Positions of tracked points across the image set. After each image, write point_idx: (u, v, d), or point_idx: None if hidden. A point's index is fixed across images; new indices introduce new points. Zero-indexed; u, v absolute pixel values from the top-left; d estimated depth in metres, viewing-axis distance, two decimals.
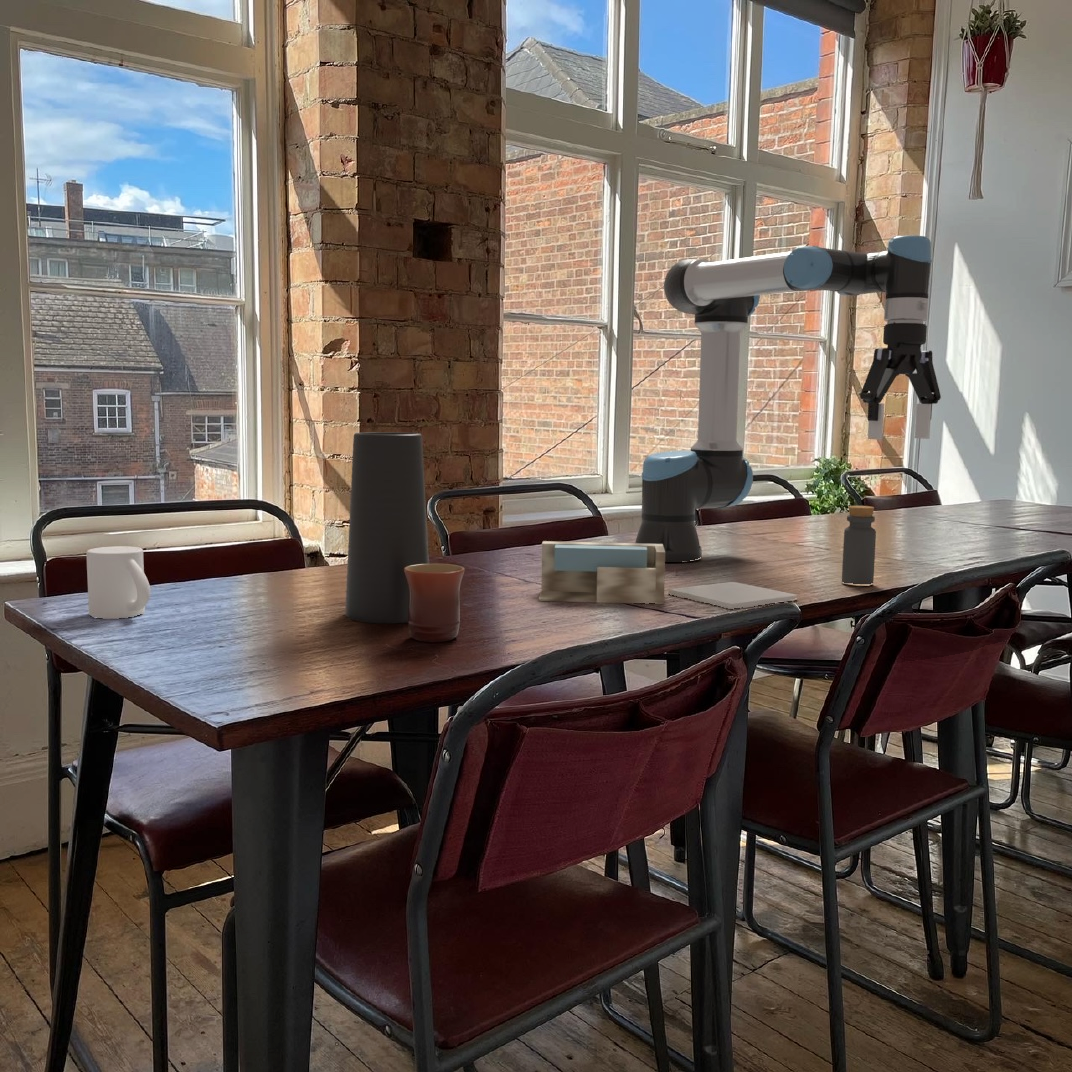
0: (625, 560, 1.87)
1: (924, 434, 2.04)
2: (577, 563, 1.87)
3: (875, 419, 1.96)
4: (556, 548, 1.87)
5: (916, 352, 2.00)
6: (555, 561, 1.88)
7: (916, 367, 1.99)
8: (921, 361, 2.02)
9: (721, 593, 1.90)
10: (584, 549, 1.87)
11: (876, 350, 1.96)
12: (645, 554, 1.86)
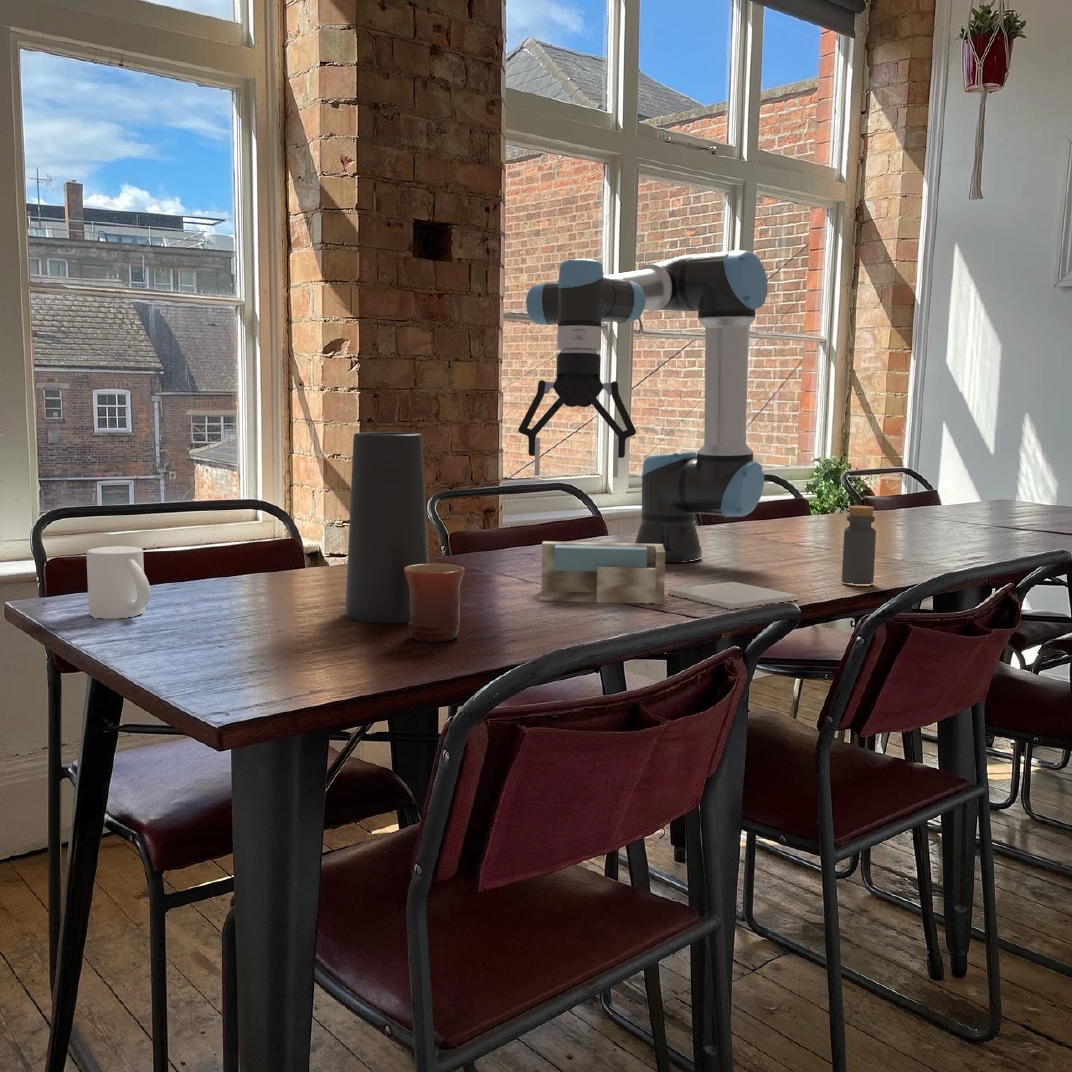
0: (625, 560, 1.87)
1: (613, 472, 1.87)
2: (577, 563, 1.87)
3: (531, 454, 1.87)
4: (556, 548, 1.87)
5: (591, 383, 1.85)
6: (555, 561, 1.88)
7: (588, 400, 1.85)
8: (607, 393, 1.86)
9: (721, 593, 1.90)
10: (584, 549, 1.87)
11: None
12: (645, 554, 1.86)
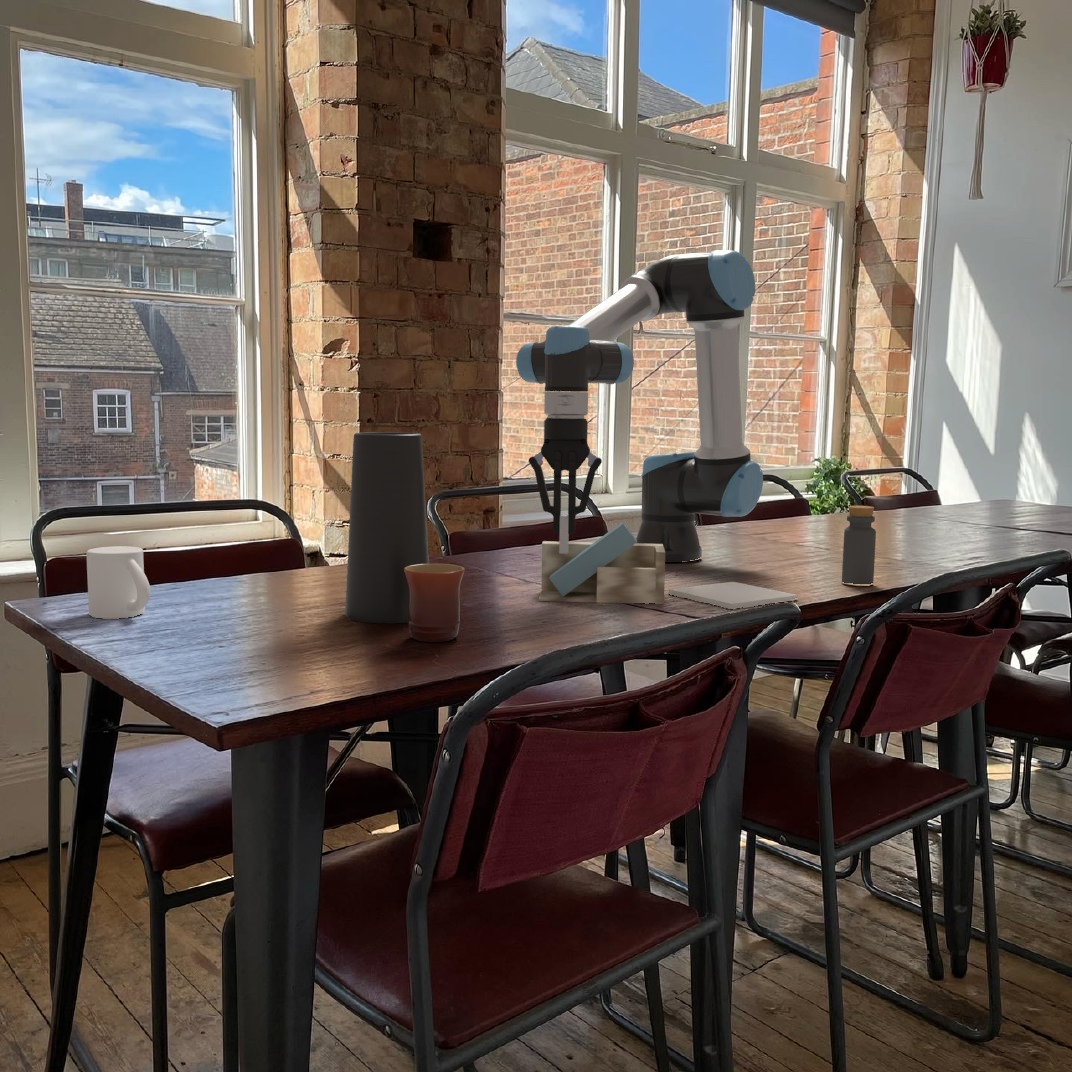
0: (613, 545, 1.87)
1: None
2: (576, 577, 1.88)
3: (555, 532, 1.88)
4: (551, 578, 1.88)
5: (581, 445, 1.86)
6: (558, 588, 1.88)
7: (568, 464, 1.86)
8: None
9: (721, 593, 1.90)
10: (573, 561, 1.87)
11: None
12: (624, 528, 1.86)
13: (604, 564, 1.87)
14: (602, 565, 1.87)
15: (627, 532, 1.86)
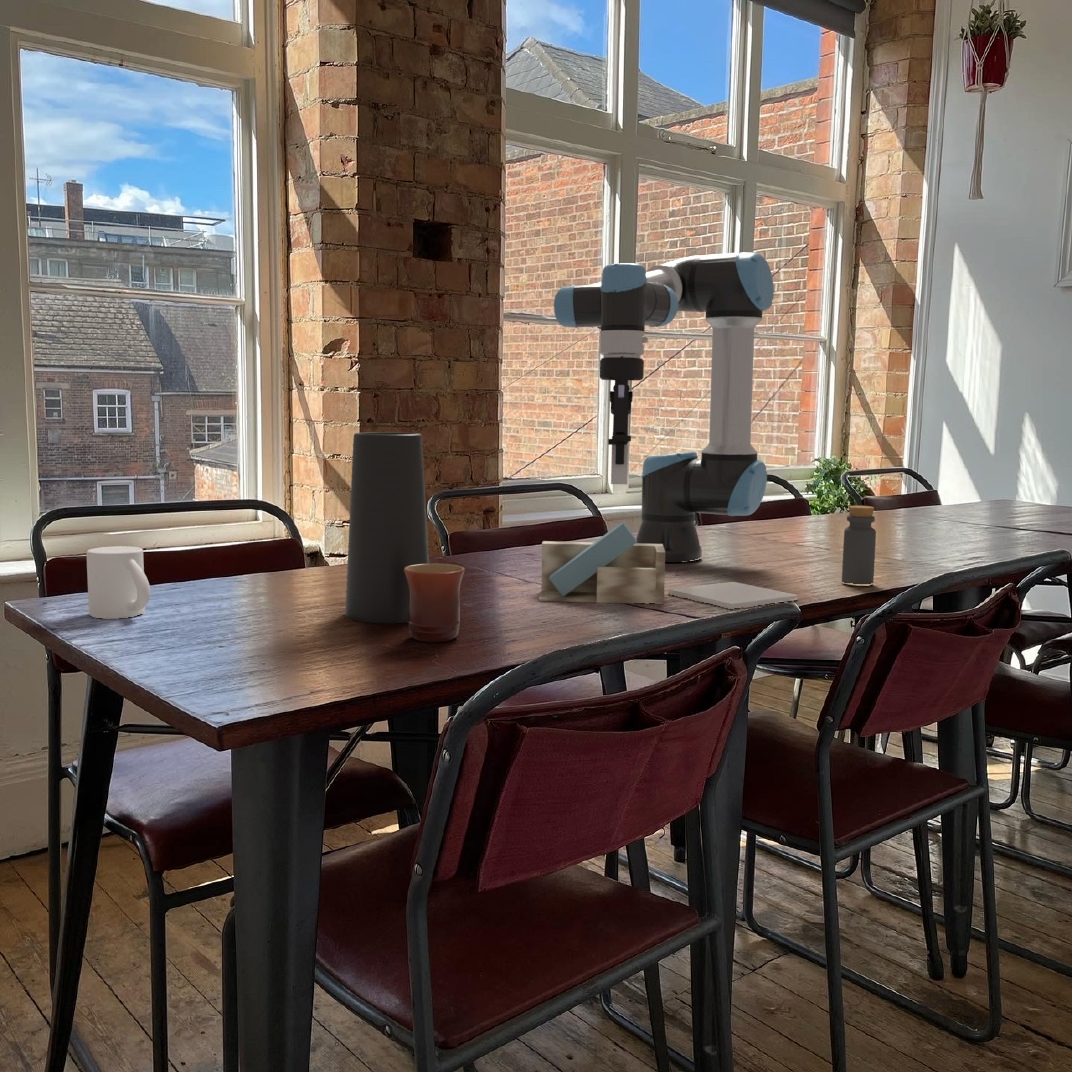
0: (613, 545, 1.87)
1: None
2: (576, 577, 1.88)
3: (623, 463, 1.79)
4: (551, 578, 1.88)
5: None
6: (558, 588, 1.88)
7: None
8: None
9: (721, 593, 1.90)
10: (573, 561, 1.87)
11: (616, 387, 1.78)
12: (624, 528, 1.86)
13: (604, 564, 1.87)
14: (602, 565, 1.87)
15: (627, 532, 1.86)
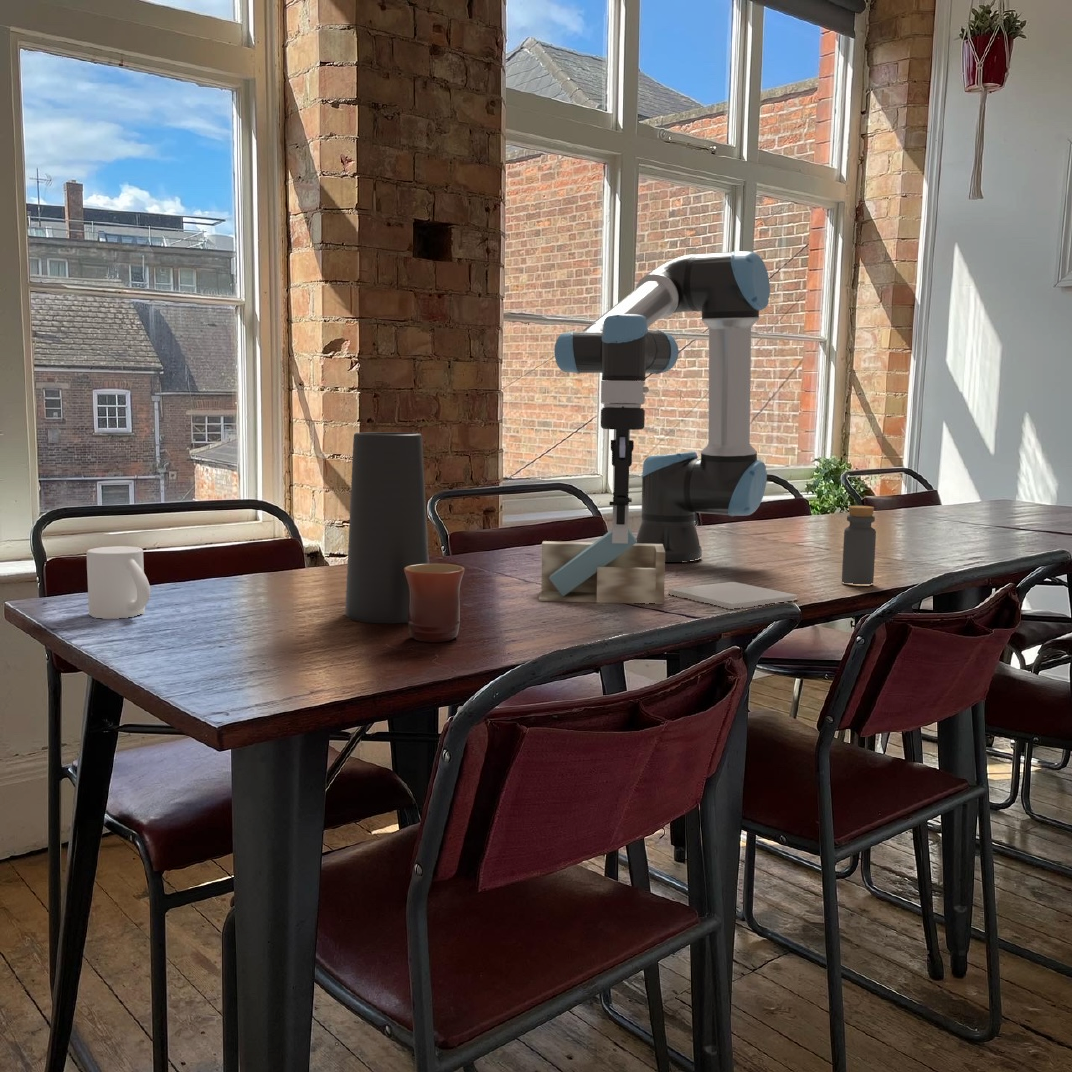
0: (613, 545, 1.87)
1: None
2: (576, 577, 1.88)
3: (624, 523, 1.84)
4: (551, 577, 1.88)
5: None
6: (558, 588, 1.88)
7: None
8: None
9: (721, 593, 1.90)
10: (573, 561, 1.87)
11: (617, 449, 1.80)
12: None
13: (604, 564, 1.87)
14: (602, 565, 1.87)
15: None
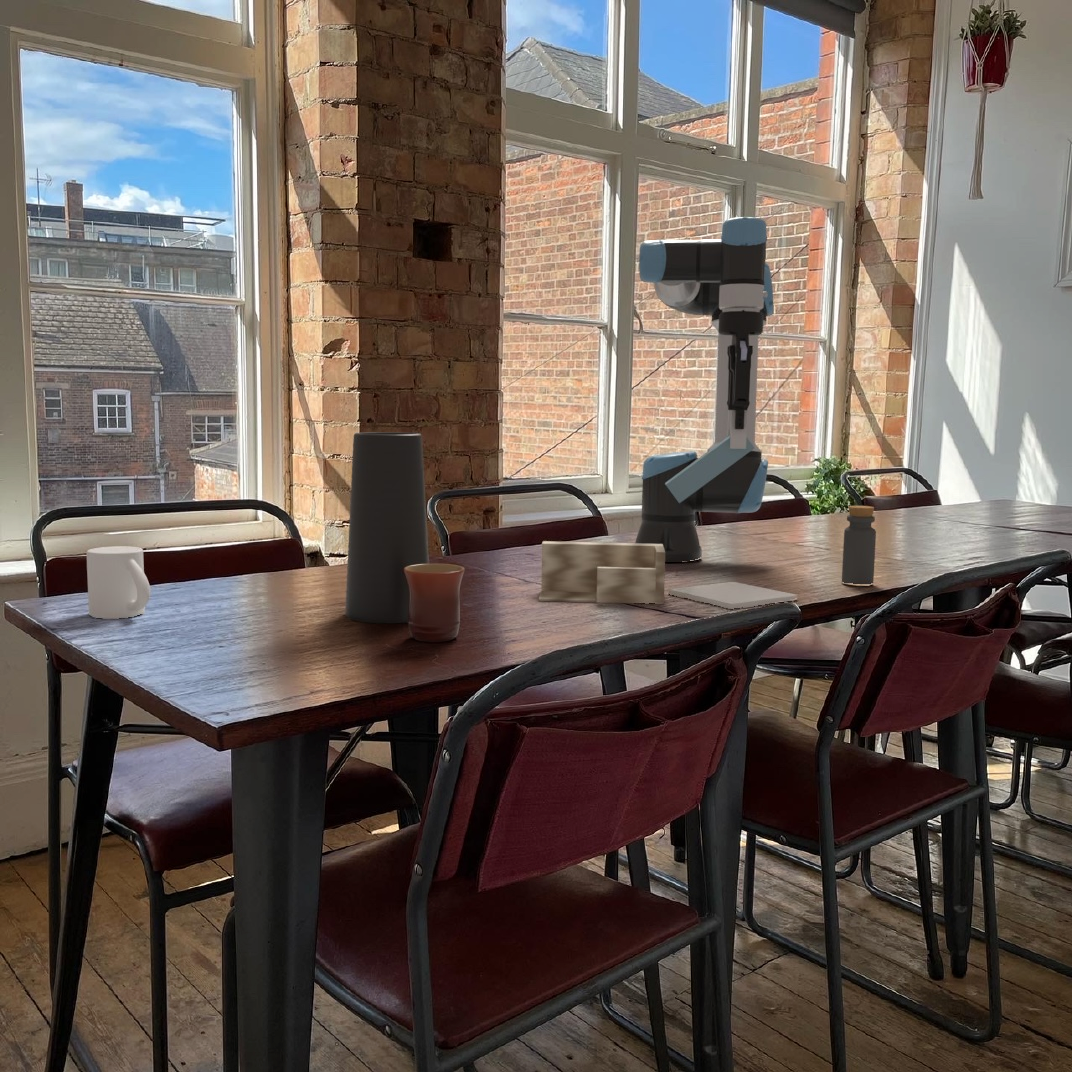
0: (730, 451, 1.86)
1: None
2: (693, 483, 1.88)
3: (743, 427, 1.84)
4: (667, 484, 1.88)
5: None
6: (674, 495, 1.88)
7: None
8: None
9: (721, 593, 1.90)
10: (690, 468, 1.87)
11: (739, 351, 1.80)
12: None
13: (721, 470, 1.87)
14: (719, 471, 1.87)
15: None
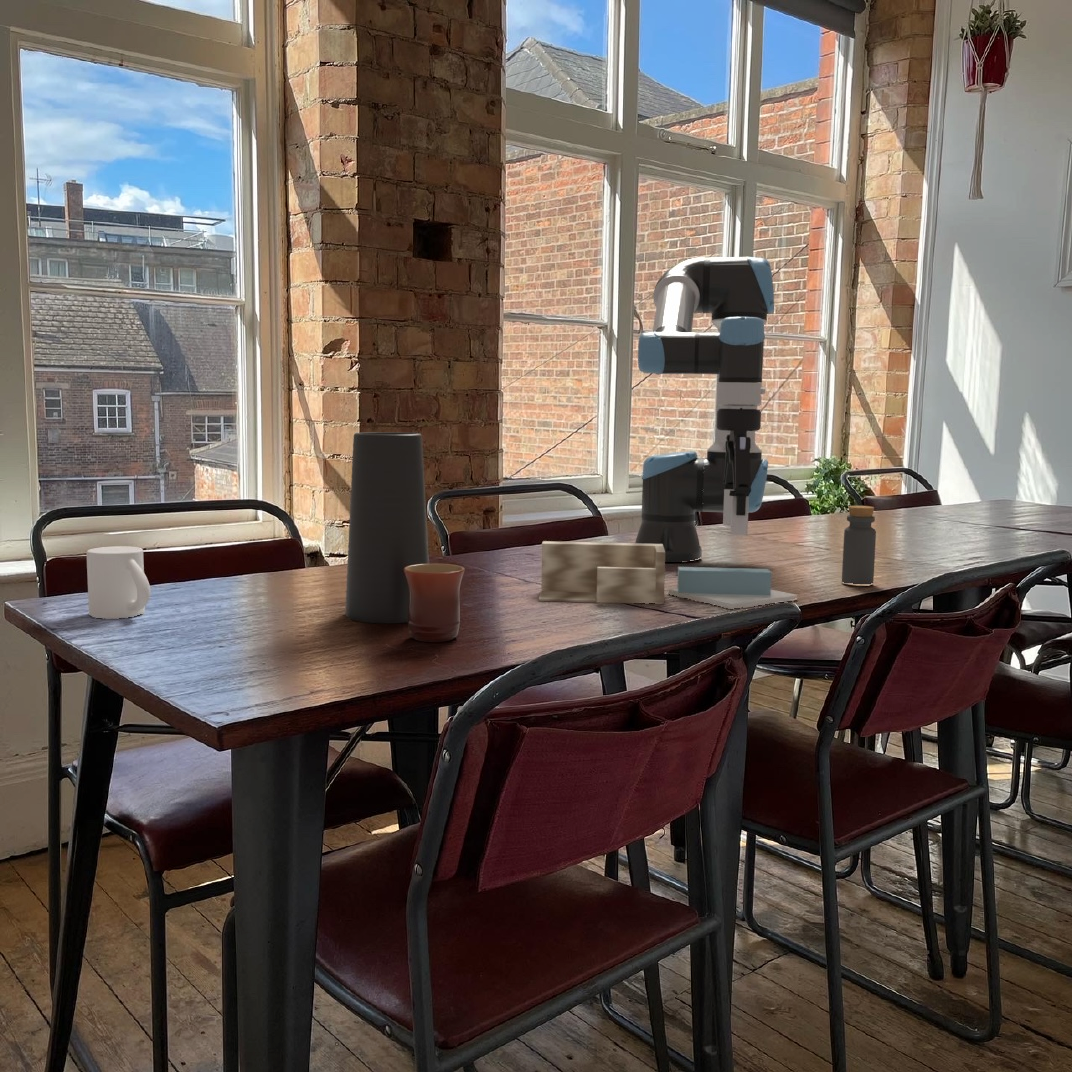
0: (749, 583, 1.89)
1: None
2: (701, 586, 1.90)
3: (744, 513, 1.82)
4: (681, 571, 1.90)
5: None
6: (680, 583, 1.90)
7: None
8: None
9: None
10: (709, 572, 1.89)
11: (738, 439, 1.81)
12: (769, 577, 1.89)
13: (731, 592, 1.90)
14: (729, 592, 1.90)
15: (769, 581, 1.89)
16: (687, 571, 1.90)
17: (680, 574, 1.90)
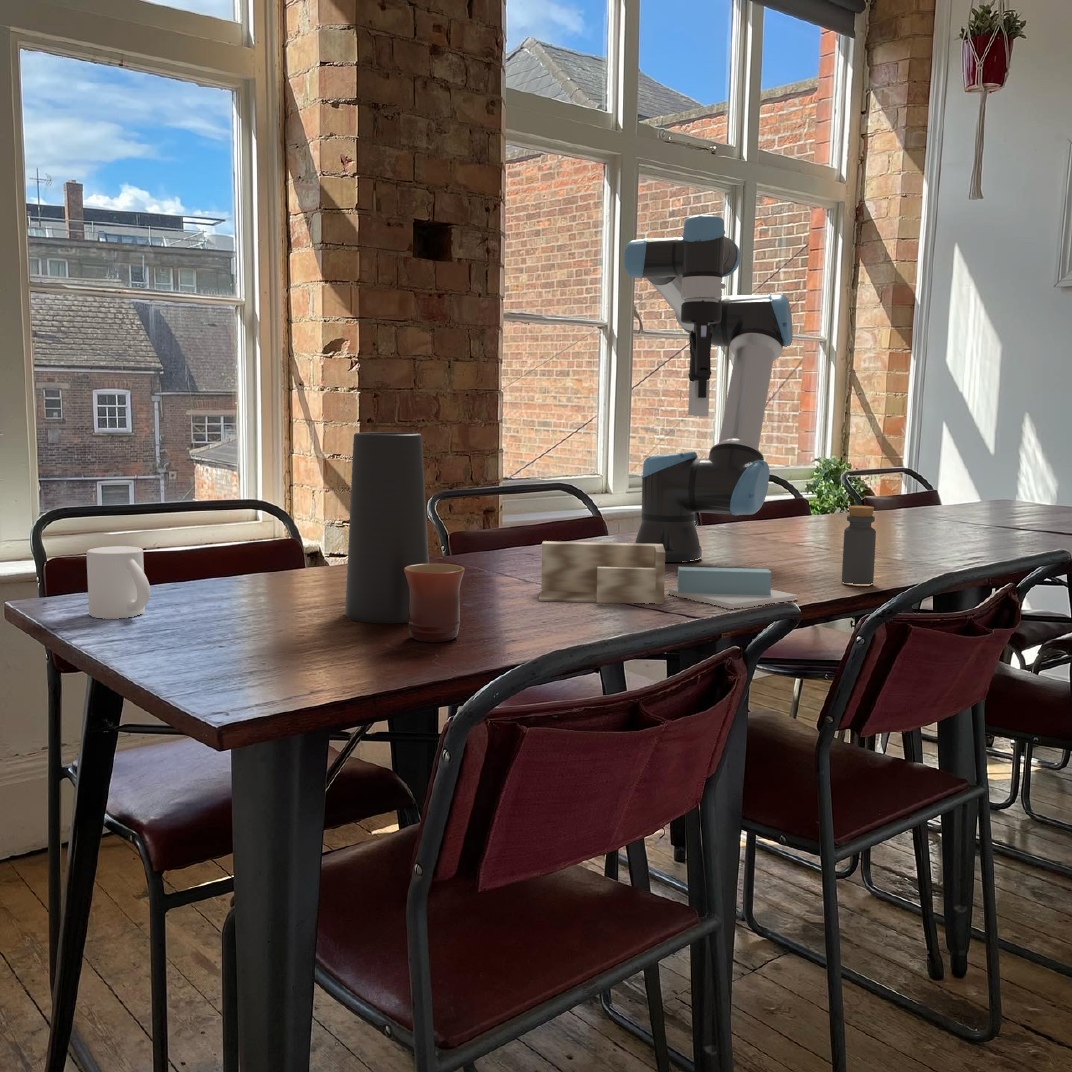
0: (749, 583, 1.89)
1: None
2: (701, 586, 1.90)
3: (705, 396, 1.97)
4: (681, 571, 1.90)
5: None
6: (680, 583, 1.90)
7: None
8: None
9: None
10: (709, 572, 1.89)
11: (699, 327, 1.96)
12: (769, 577, 1.89)
13: (731, 592, 1.90)
14: (729, 592, 1.90)
15: (769, 581, 1.89)
16: (687, 571, 1.90)
17: (680, 574, 1.90)
